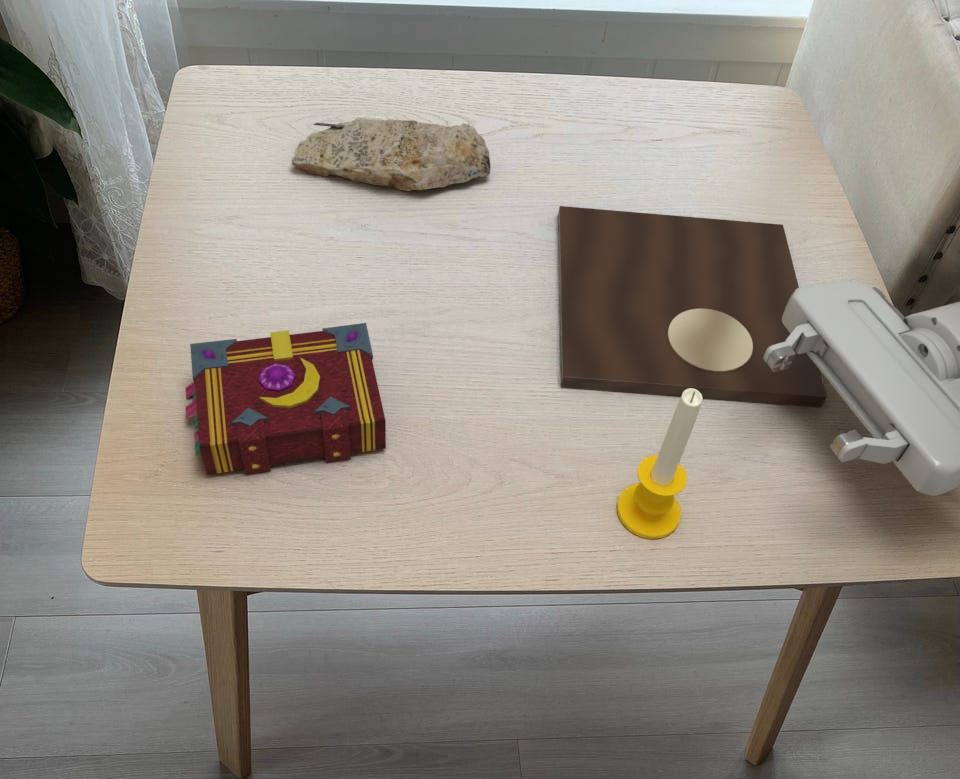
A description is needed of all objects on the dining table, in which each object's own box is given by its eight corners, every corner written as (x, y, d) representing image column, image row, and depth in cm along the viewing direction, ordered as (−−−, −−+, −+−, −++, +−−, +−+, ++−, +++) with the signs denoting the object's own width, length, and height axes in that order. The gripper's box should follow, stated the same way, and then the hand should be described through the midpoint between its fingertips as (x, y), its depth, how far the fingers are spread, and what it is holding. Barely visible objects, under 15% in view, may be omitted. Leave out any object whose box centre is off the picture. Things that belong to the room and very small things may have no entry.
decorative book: (388, 454, 80) (388, 417, 76) (191, 484, 77) (180, 447, 73) (366, 355, 87) (365, 317, 83) (184, 379, 84) (175, 340, 80)
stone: (498, 119, 104) (479, 142, 96) (495, 178, 107) (477, 204, 99) (317, 104, 108) (283, 124, 99) (320, 161, 111) (287, 185, 102)
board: (778, 235, 102) (783, 222, 101) (821, 407, 87) (827, 396, 86) (557, 216, 102) (559, 204, 100) (560, 387, 86) (563, 375, 85)
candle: (683, 540, 77) (737, 422, 65) (619, 538, 76) (662, 419, 64) (675, 487, 80) (725, 365, 68) (614, 484, 80) (653, 361, 68)
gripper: (880, 250, 81) (743, 284, 77) (1050, 431, 70) (899, 481, 66) (852, 303, 86) (722, 337, 82) (1007, 479, 74) (864, 529, 70)
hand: (802, 403), depth 74 cm, fingers open, 8 cm apart
